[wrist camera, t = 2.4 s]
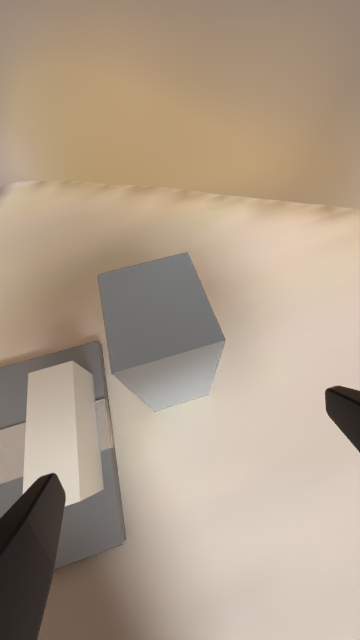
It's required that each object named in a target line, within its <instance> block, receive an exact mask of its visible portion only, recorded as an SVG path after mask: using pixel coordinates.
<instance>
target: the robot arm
mask: <svg viewBox="0 0 360 640" xmlns="http://www.w3.org/2000/svg"><path fill="white" fill-rule="evenodd" d="M325 401H326V411H327V413H328V415H329V417H330V418H331V419H332V420H333V421H334V423H335V424H336V425H337V426H338V427H339V428H340V430H341V431H342V432H343V433H344V434H345V436H346V437H347V438H348V439H349V440H350V441H351V443H352V444H353V445H354V446H355V447H356V448H357V450H358V451H359V452H360V391H358V390H354V389H350V388H346V387H342V386H334V387H331V388H328V389H326V391H325ZM65 502H66V494H65V490H64V488H63V486H62V484H61V482H60V480H59V478H58V476H57V474H55V473H50V474H46V475H43V476H41V477H39V478H38V479H37V480H36V481H35V482H34V483H33V484H32V485H31V486H30V487H29V488H28V489H27V490H26V491H25V493H24V494H23V495H22V496H21V497H20V498H19V499H18V500H17V501H16V502H15V503H14V504H13V505H12V506H11V507H10V508H9V509H8V511H7V512H6V513H5V514H4V515H3V516H2V517H1V518H0V640H37V638H38V634H39V630H40V626H41V622H42V618H43V614H44V609H45V605H46V601H47V597H48V593H49V589H50V585H51V581H52V577H53V572H54V568H55V562H56V557H57V551H58V545H59V539H60V533H61V526H62V520H63V514H64V508H65Z"/></svg>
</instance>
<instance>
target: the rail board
mask: <svg viewBox="0 0 360 640" xmlns="http://www.w3.org/2000/svg"><path fill="white" fill-rule="evenodd" d="M50 473H55V474H57V476H58V478H59V480H60V482H61V484H62V486H63V488H64V490H65V494H66V502H65V508H64V514H63V520H62V526H61V533H60V539H59V545H58V551H57V557H56V562H55V568H54V570H55V569H58V568H60V567H63V566H66V565H68V564H71V563H74V562H76V561H79V560H82V559H84V558H87V557H90V556H92V555H95V554H98V553H101V552H103V551H106V550H109V549H111V548H114V547H117V546H119V545H122V544H123V543H124V541H125V540H126V534H125V526H124V518H123V511H122V503H121V495H120V487H119V479H118V471H117V463H116V455H115V448H114V440H113V432H112V424H111V416H110V408H109V400H108V392H107V385H106V377H105V369H104V361H103V353H102V345H101V344H100V343H99V341H95V342H92V343H88V344H85V345H81V346H77V347H74V348H70V349H67V350H63V351H59V352H56V353H52V354H49V355H45V356H41V357H38V358H34V359H31V360H27V361H24V362H20V363H16V364H13V365H9V366H6V367H2V368H0V518H1V517H2V516H3V515H4V514H5V513H6V512H7V511H8V509H9V508H10V507H11V506H12V505H13V504H14V503H15V502H16V501H17V500H18V499H19V498H20V497H21V496H22V495H23V494H24V493H25V491H26V490H27V489H28V488H29V487H30V486H31V485H32V484H33V483H34V482H35V481H36V480H37V479H38V478H39V477H41V476H43V475H46V474H50Z"/></svg>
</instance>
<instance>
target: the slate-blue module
mask: <svg viewBox="0 0 360 640" xmlns="http://www.w3.org/2000/svg"><path fill="white" fill-rule="evenodd" d="M98 281H99V288H100V295H101V302H102V309H103V317H104V324H105V331H106V338H107V345H108V352H109V359H110V366H111V373H112V375H114V376H115V377H116V378H117V379H118V380H119V381H120V382H122V383H123V384H124V385H125V386H126V387H127V388H128V389H130V390H131V391H132V392H133V393H134V394H135V395H136V396H138V397H139V398H140V399H141V400H142V401H143V402H144V403H146V404H147V405H148V406H149V407H150V408H151V409H152V410H154V411H155V412H156V411H159V410H162V409H165V408H168V407H171V406H174V405H178V404H181V403H184V402H187V401H190V400H193V399H196V398H200V397H203V396H206V395H208V394H209V390H210V387H211V384H212V381H213V378H214V375H215V372H216V368H217V365H218V362H219V359H220V356H221V353H222V350H223V346H224V343H225V338H224V335H223V333H222V331H221V328H220V326H219V324H218V322H217V319H216V317H215V315H214V312H213V310H212V308H211V305H210V303H209V301H208V298H207V296H206V294H205V292H204V289H203V287H202V285H201V282H200V280H199V278H198V275H197V273H196V271H195V269H194V266H193V264H192V262H191V259H190V257H189V255H188V252H186V253H182V254H178V255H174V256H170V257H166V258H162V259H158V260H154V261H150V262H146V263H142V264H138V265H134V266H130V267H126V268H122V269H118V270H114V271H110V272H106V273H103V274H99V275H98Z"/></svg>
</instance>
